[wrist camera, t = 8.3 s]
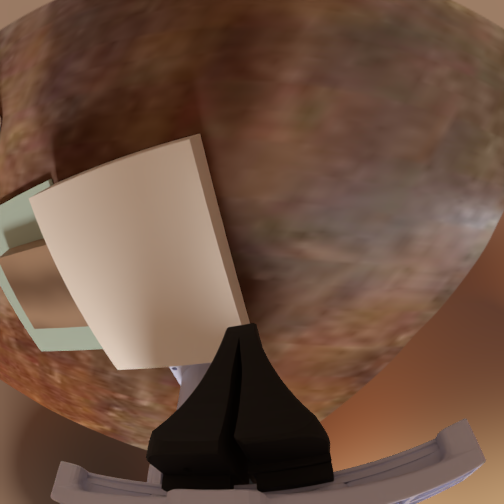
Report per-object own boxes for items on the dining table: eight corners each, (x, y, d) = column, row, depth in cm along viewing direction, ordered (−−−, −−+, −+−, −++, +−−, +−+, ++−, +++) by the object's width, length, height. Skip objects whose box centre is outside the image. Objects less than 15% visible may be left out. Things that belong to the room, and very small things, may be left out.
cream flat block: (250, 323, 25) (251, 356, 22) (129, 339, 26) (117, 369, 22) (200, 133, 18) (189, 138, 14) (57, 182, 19) (28, 198, 15)
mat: (127, 343, 26) (125, 347, 26) (42, 348, 27) (41, 351, 27) (51, 178, 19) (48, 180, 18) (-26, 220, 19) (-28, 222, 19)
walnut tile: (100, 312, 24) (92, 326, 22) (43, 316, 24) (34, 328, 22) (64, 232, 20) (52, 243, 18) (9, 248, 21) (-3, 258, 19)
